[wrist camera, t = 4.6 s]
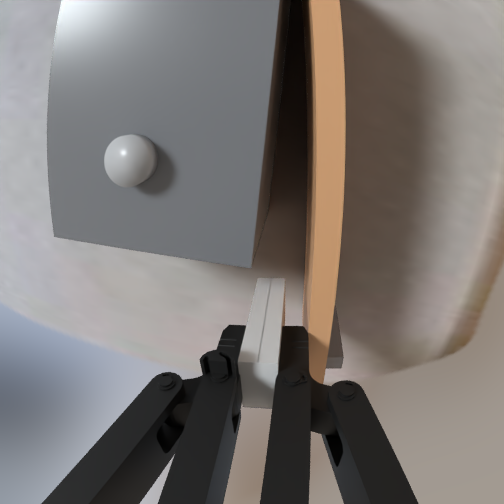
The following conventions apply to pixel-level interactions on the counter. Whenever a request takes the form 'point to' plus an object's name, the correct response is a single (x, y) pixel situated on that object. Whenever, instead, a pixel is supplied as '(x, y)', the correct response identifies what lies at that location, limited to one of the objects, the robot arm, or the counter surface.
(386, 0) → the counter surface
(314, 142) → the door
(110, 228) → the camera housing
